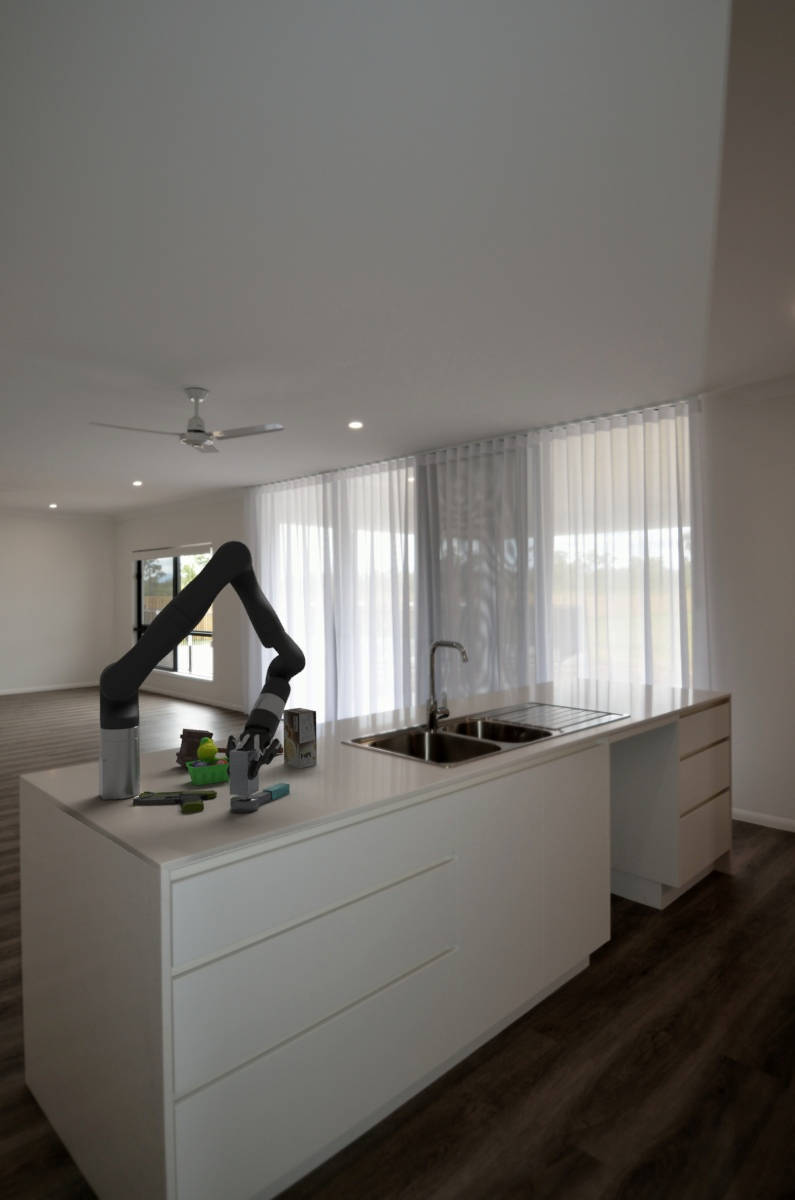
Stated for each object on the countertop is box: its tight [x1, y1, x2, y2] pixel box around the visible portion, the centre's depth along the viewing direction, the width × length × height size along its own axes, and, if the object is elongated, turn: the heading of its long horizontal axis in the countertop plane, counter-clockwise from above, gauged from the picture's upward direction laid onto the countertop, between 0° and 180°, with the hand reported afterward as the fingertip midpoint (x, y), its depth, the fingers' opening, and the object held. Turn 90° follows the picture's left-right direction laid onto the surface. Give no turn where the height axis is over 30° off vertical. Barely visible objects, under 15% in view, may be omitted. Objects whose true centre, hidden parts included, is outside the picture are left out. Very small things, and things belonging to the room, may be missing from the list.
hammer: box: [175, 728, 284, 768], centre depth 208 cm, size 7×33×10 cm, turn 124°
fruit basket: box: [186, 738, 230, 786], centre depth 186 cm, size 11×9×11 cm
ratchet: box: [229, 782, 291, 815], centre depth 165 cm, size 19×6×6 cm, turn 152°
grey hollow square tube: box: [229, 747, 260, 796], centre depth 160 cm, size 5×5×10 cm
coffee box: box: [282, 707, 318, 769], centre depth 203 cm, size 9×6×16 cm
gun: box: [132, 789, 218, 814], centre depth 165 cm, size 2×19×15 cm
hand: (240, 776), depth 158 cm, fingers closed on grey hollow square tube, 4 cm apart
